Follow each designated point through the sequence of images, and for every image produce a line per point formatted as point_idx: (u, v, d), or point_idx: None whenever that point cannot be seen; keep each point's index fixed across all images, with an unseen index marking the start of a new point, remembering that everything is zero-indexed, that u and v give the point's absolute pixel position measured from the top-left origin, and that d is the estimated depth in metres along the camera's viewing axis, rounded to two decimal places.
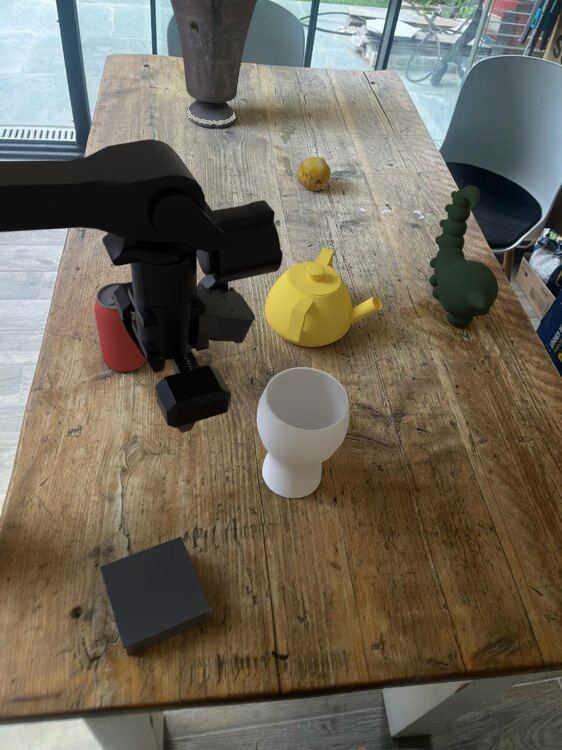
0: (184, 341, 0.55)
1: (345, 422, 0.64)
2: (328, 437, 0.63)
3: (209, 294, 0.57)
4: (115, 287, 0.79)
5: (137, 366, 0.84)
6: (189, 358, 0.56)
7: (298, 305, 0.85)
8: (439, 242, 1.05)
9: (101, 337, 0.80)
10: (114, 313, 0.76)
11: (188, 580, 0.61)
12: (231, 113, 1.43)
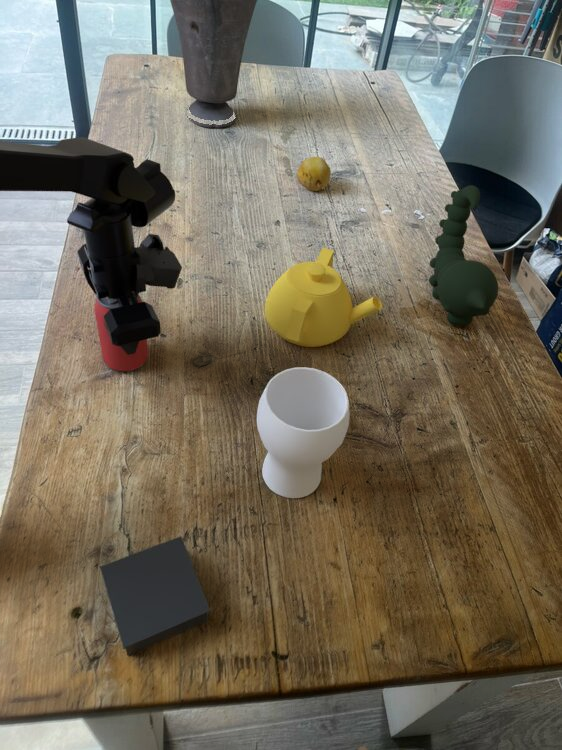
0: (126, 284, 0.74)
1: (345, 422, 0.64)
2: (328, 437, 0.63)
3: (147, 251, 0.77)
4: None
5: (137, 366, 0.84)
6: (130, 295, 0.76)
7: (298, 305, 0.85)
8: (439, 242, 1.05)
9: (101, 337, 0.80)
10: None
11: (188, 580, 0.61)
12: (231, 113, 1.43)
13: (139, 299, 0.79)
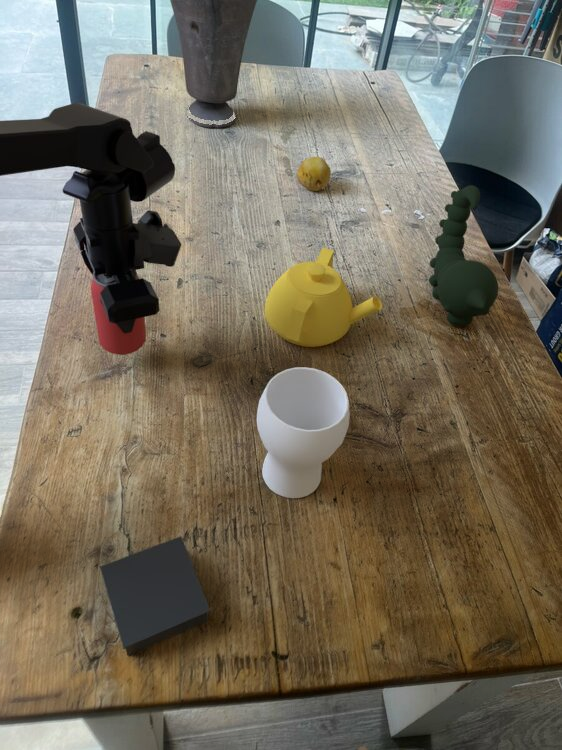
0: (124, 260, 0.71)
1: (345, 422, 0.64)
2: (328, 437, 0.63)
3: (145, 227, 0.74)
4: None
5: (134, 349, 0.82)
6: None
7: (298, 305, 0.85)
8: (439, 242, 1.05)
9: (97, 318, 0.78)
10: None
11: (188, 580, 0.61)
12: (231, 113, 1.43)
13: None
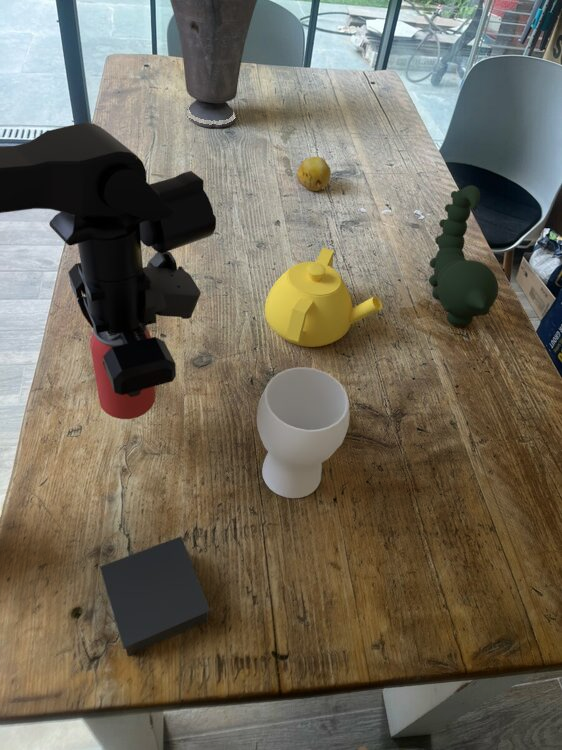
0: (132, 315, 0.58)
1: (345, 422, 0.64)
2: (328, 437, 0.63)
3: (157, 272, 0.61)
4: None
5: (142, 412, 0.69)
6: None
7: (298, 305, 0.85)
8: (439, 242, 1.05)
9: (99, 379, 0.65)
10: None
11: (188, 580, 0.61)
12: (231, 113, 1.43)
13: (147, 333, 0.63)
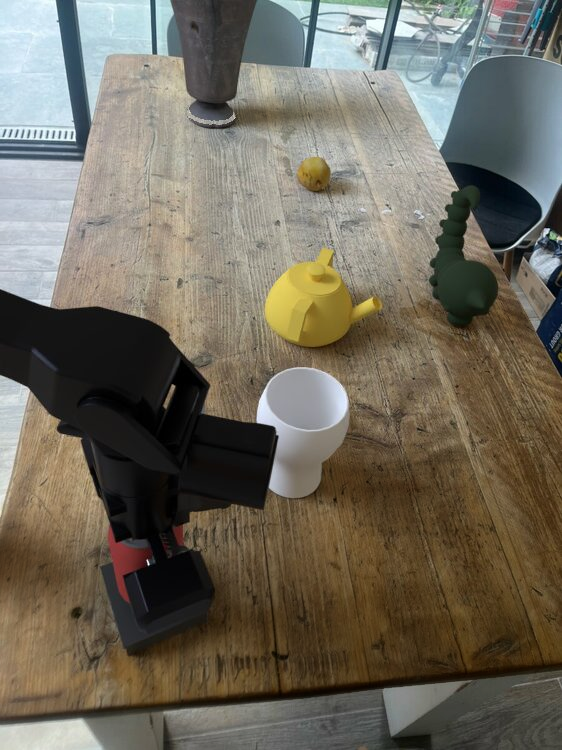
0: (160, 520, 0.46)
1: (345, 422, 0.64)
2: (328, 437, 0.63)
3: None
4: None
5: None
6: None
7: (298, 305, 0.85)
8: (439, 242, 1.05)
9: (117, 572, 0.53)
10: (140, 552, 0.49)
11: None
12: (231, 113, 1.43)
13: None
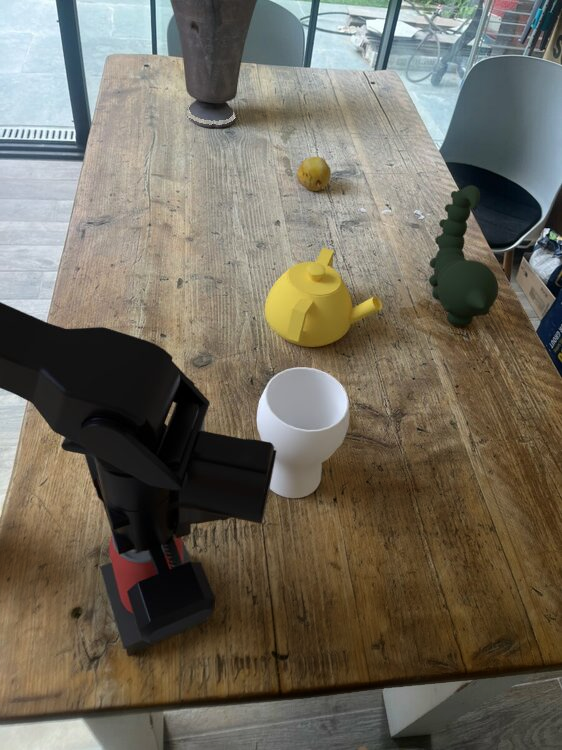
0: (162, 532, 0.47)
1: (345, 422, 0.64)
2: (328, 437, 0.63)
3: None
4: None
5: None
6: (168, 545, 0.49)
7: (298, 305, 0.85)
8: (439, 242, 1.05)
9: (119, 584, 0.54)
10: (140, 566, 0.50)
11: None
12: (231, 113, 1.43)
13: None
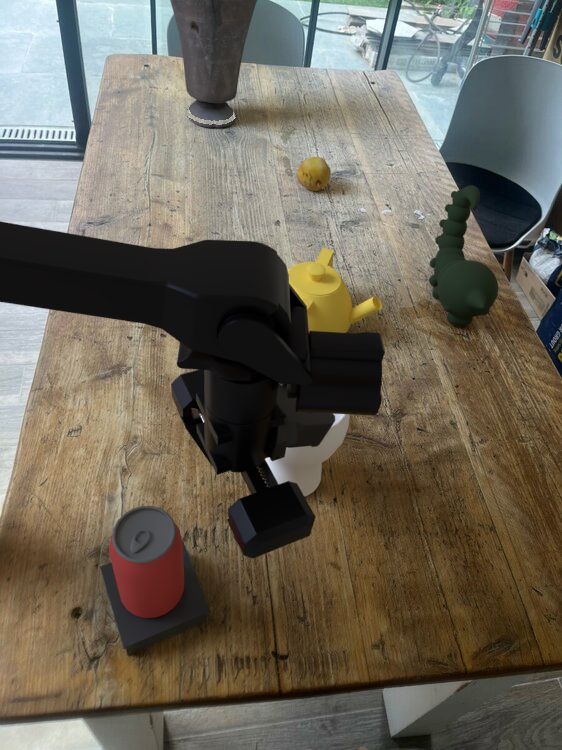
0: (260, 453, 0.48)
1: (345, 422, 0.64)
2: (328, 437, 0.63)
3: (284, 393, 0.51)
4: (140, 514, 0.53)
5: (170, 609, 0.58)
6: (262, 468, 0.49)
7: None
8: (439, 242, 1.05)
9: (119, 584, 0.54)
10: (140, 567, 0.50)
11: (188, 580, 0.61)
12: (231, 113, 1.43)
13: (176, 535, 0.53)
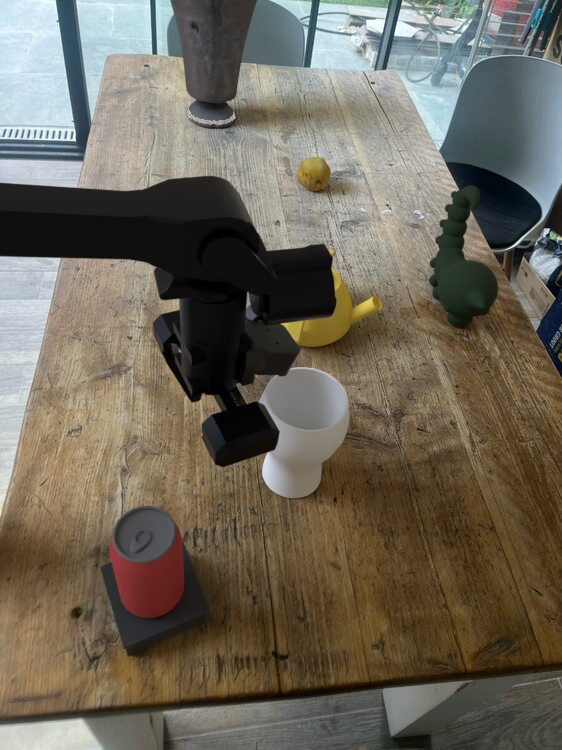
0: (230, 376, 0.53)
1: (345, 422, 0.64)
2: (328, 437, 0.63)
3: (253, 327, 0.56)
4: (140, 514, 0.53)
5: (170, 609, 0.58)
6: (234, 393, 0.55)
7: None
8: (439, 242, 1.05)
9: (119, 584, 0.54)
10: (140, 566, 0.50)
11: (188, 580, 0.61)
12: (231, 113, 1.43)
13: (176, 535, 0.53)
